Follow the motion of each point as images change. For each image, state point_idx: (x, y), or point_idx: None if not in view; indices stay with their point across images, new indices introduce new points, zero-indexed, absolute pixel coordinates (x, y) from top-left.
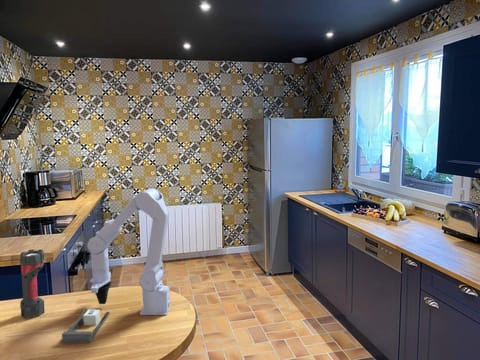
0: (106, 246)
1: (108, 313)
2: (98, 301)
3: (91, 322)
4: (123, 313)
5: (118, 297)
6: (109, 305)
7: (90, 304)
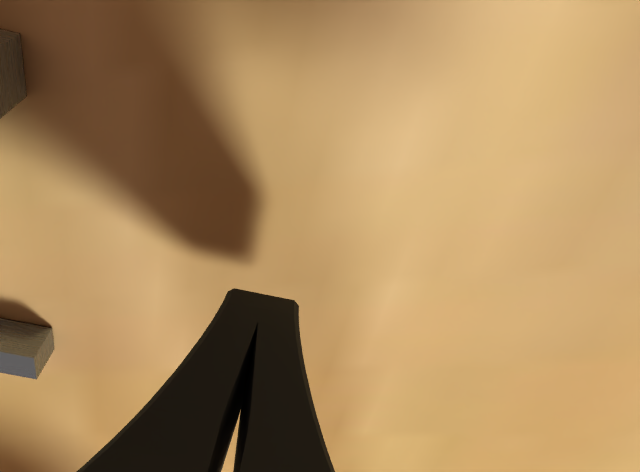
0: None
1: (17, 366)
2: (220, 315)
3: None
4: (90, 455)
5: (555, 420)
6: (326, 341)
7: (466, 63)
